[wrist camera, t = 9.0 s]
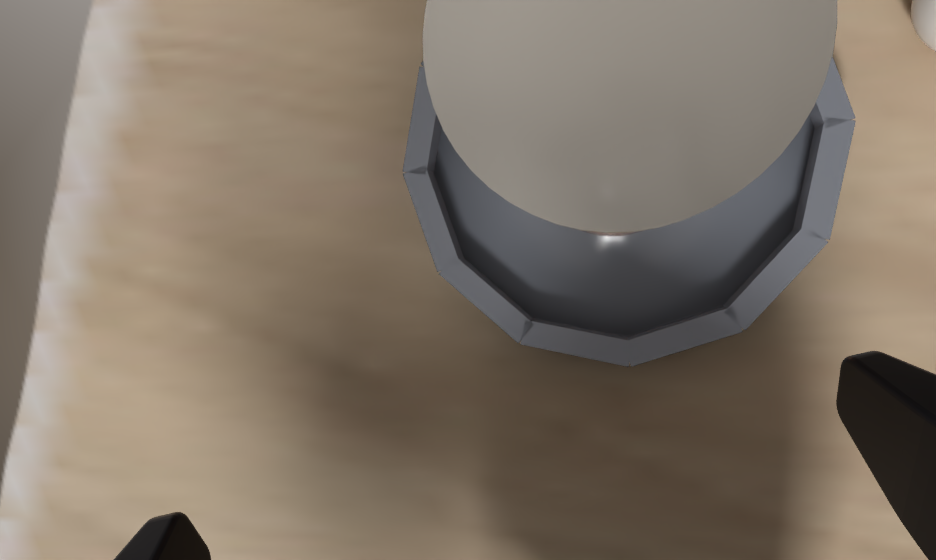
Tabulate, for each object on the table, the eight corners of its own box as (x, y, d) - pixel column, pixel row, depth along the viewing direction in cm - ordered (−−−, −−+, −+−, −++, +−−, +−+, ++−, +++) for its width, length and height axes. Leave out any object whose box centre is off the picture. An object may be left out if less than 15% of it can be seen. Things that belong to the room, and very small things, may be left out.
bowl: (929, 118, 19) (955, 107, 18) (634, 433, 22) (636, 446, 20) (590, -131, 21) (588, -159, 20) (349, 185, 23) (332, 181, 22)
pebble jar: (745, 139, 20) (938, -22, 8) (622, 278, 21) (638, 312, 9) (602, 29, 21) (593, -260, 9) (490, 169, 22) (350, 71, 10)
